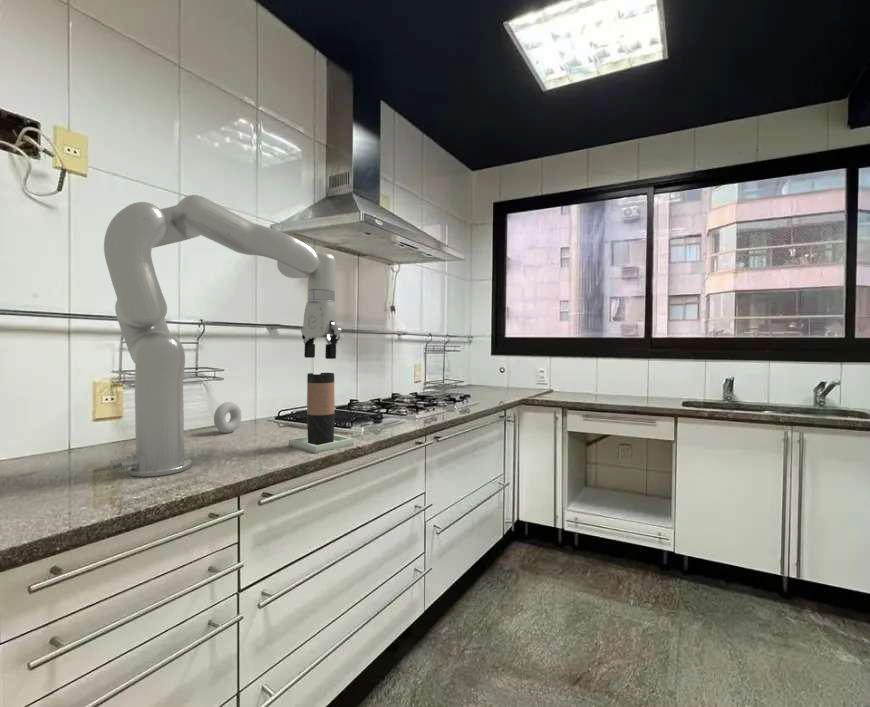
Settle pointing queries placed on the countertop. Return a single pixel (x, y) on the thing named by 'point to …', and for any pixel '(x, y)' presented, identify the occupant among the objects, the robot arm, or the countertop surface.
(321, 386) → the travel mug
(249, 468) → the countertop surface
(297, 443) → the tray
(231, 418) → the donut
